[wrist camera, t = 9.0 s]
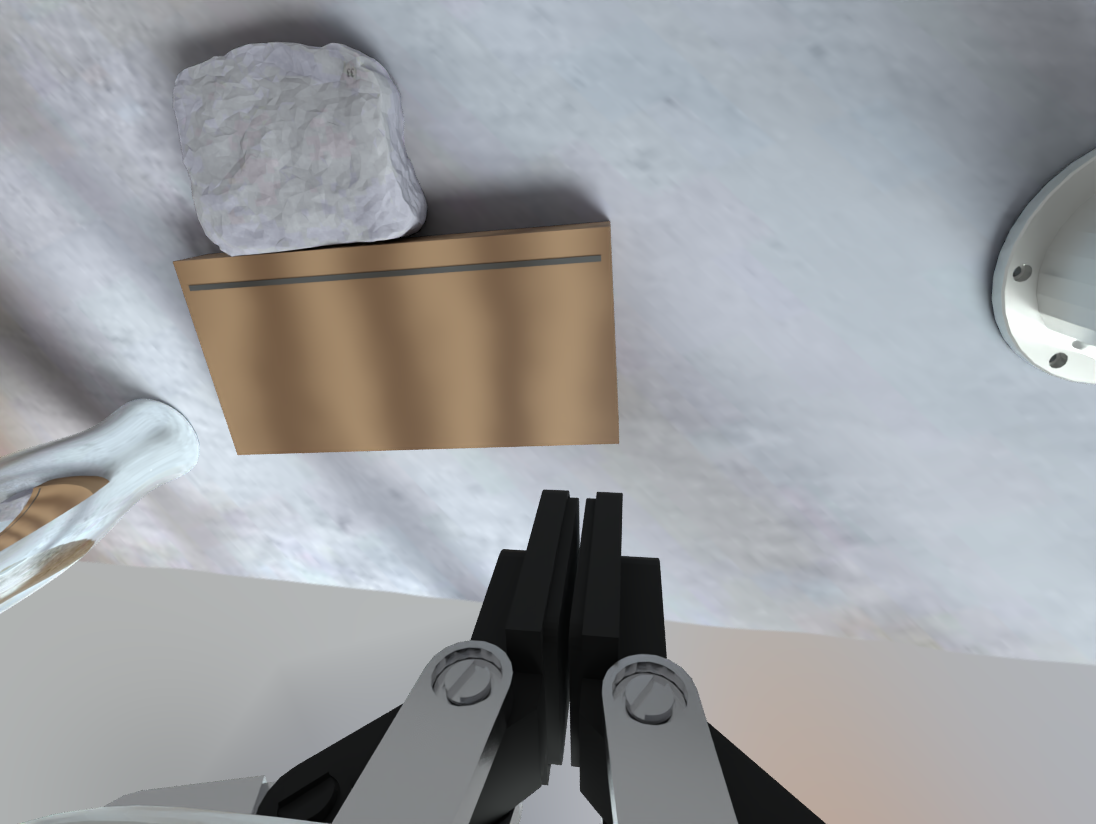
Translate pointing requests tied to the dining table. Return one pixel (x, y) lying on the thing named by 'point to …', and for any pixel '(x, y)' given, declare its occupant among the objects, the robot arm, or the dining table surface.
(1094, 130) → the dining table surface
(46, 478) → the beer glass
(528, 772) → the robot arm
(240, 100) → the stone block
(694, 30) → the dining table surface
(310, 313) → the brown wooden board
